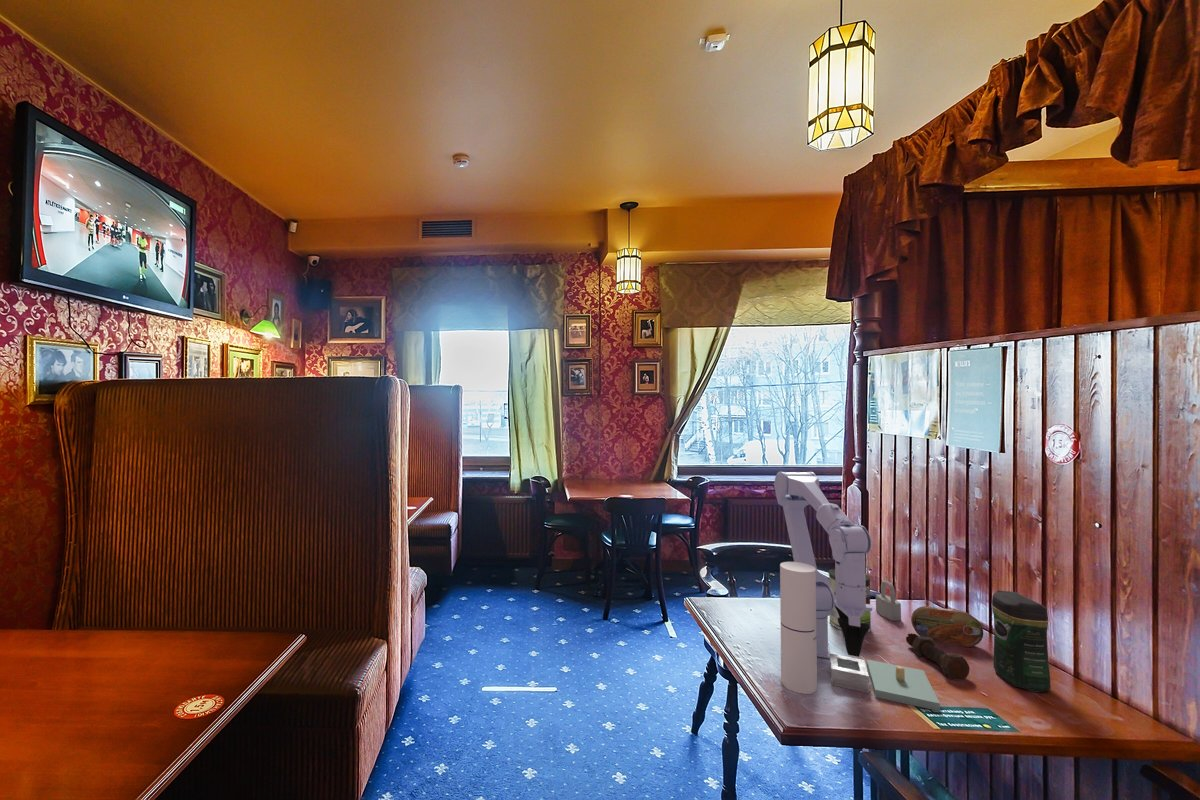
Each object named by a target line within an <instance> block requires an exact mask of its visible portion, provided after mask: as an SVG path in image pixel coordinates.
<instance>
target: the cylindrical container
mask: <svg viewBox="0 0 1200 800" xmlns="http://www.w3.org/2000/svg"><path fill="white" fill-rule="evenodd" d="M779 577H780V578H779V580H780V581H779V582H780V584H779V587H780V588H779V589H780V598H779V600H780V601H779V602H780V603H779V605H780V607H779V608H780V681H781V684H782V685H783V686H784V687H785V688H786V689H788V690H790V691H791V692H795V693H798V694H804V695H806V694H807V695H808V694H814V693H816V692H817V689H818V673H817V672H818V668H817V667H818V659H817V657H818V656H817V643H816V569H815V567H813V566H811V565H809V564H805V563H800V562H794V561H783V562H780V564H779Z"/></svg>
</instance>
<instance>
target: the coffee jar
mask: <svg viewBox="0 0 1200 800" xmlns="http://www.w3.org/2000/svg"><path fill="white" fill-rule="evenodd" d="M991 608H992V614H993V625H994V626H993V633H994V634H993V662H992V663H993V670H994V671H995V672H996V673H997V674H998V676H1000V677H1001V678H1002V679H1003V680H1005V681H1007V683H1009V684H1011V685H1012V686H1014V687H1017V688H1021V689H1024V690H1028V691H1031V692H1034V693H1035V692H1037V693H1039V692H1040V693H1042V692H1047V691H1050V690H1051V673H1050V664H1049V652H1048V651H1049V650H1048V634H1047V632H1048V626H1049V615H1048V609H1047V607H1046V606H1045V605H1042V604H1041V603H1038V602H1036V601H1035V600H1033V599H1031V598H1029V597H1026V596H1025V595H1023V594H1021V593H1019V592H1018V591H1010V590H1009V591H1008V590H997V591H995V592H994V593H993V594H992V598H991Z"/></svg>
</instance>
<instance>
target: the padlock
mask: <svg viewBox="0 0 1200 800" xmlns="http://www.w3.org/2000/svg"><path fill="white" fill-rule="evenodd" d="M886 585H887V587H888V588H889V591H890V592H889V593H890V595H887V594H886ZM875 611H876V612H877V613H878V614H879V615H880V616H882V617H884V618H886V619H888V620H889V621H893V622H894V621H902V604H901V602H899V600H897V599H896V591H895V587H894V585H893V584H892V583H891V582H890V581H888V580H883V581H882V582H881V584H880V594H877V593H876V594H875Z"/></svg>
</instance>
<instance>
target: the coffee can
mask: <svg viewBox="0 0 1200 800" xmlns="http://www.w3.org/2000/svg"><path fill="white" fill-rule="evenodd" d="M828 577H829V578H828V579H829V583H830V586H831V588H832V590H833V592H834V594H835V598H836V584H835V568H833V569H829V570H828ZM865 583H866V604H869V605H871V577H870V575H868V574H866V573H865ZM830 612H831V615H830V616H829V621H830V622H829V624H830V623H831V624H832V625H833V627H834V626H835V627H837V628H839V629H838V630H840V629H841V627H840V625H839V623H838V618H840V617H839V614H838V612H837V610H836V608H834V610H833V611H830ZM860 623H864V624H868V625H869V630H868V632H867V633H866V634H868V633H870V632H871V630H872V627H871V626H872V625H871V611H866V612H865V613H864V614H863V615H862V617H861V618H860ZM832 625H831V626H832ZM835 627H834V628H835ZM837 628H836V629H837ZM840 631H842V629H841V630H840Z"/></svg>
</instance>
